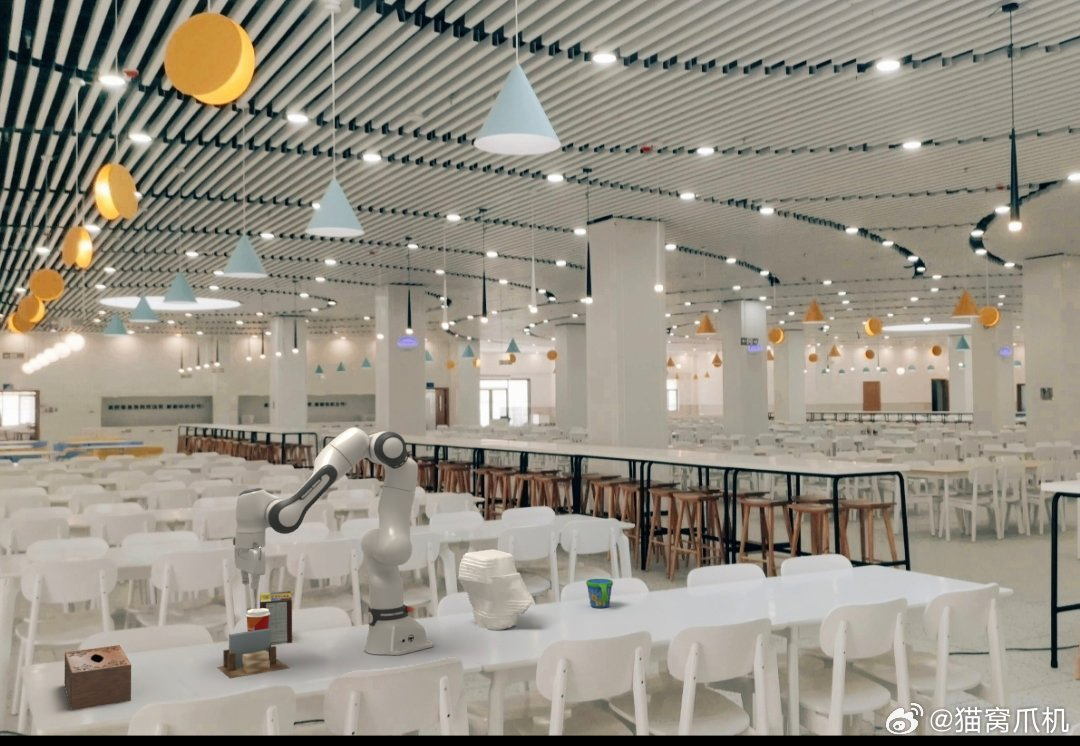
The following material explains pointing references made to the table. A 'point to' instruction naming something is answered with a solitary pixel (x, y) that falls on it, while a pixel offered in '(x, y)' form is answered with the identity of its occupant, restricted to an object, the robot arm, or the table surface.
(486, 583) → the white faceted lump
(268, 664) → the offcut lower
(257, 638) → the panel
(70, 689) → the tissue box cover
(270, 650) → the rack
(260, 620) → the paper cup
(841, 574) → the table surface
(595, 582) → the snack cup
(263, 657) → the offcut upper
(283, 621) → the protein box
